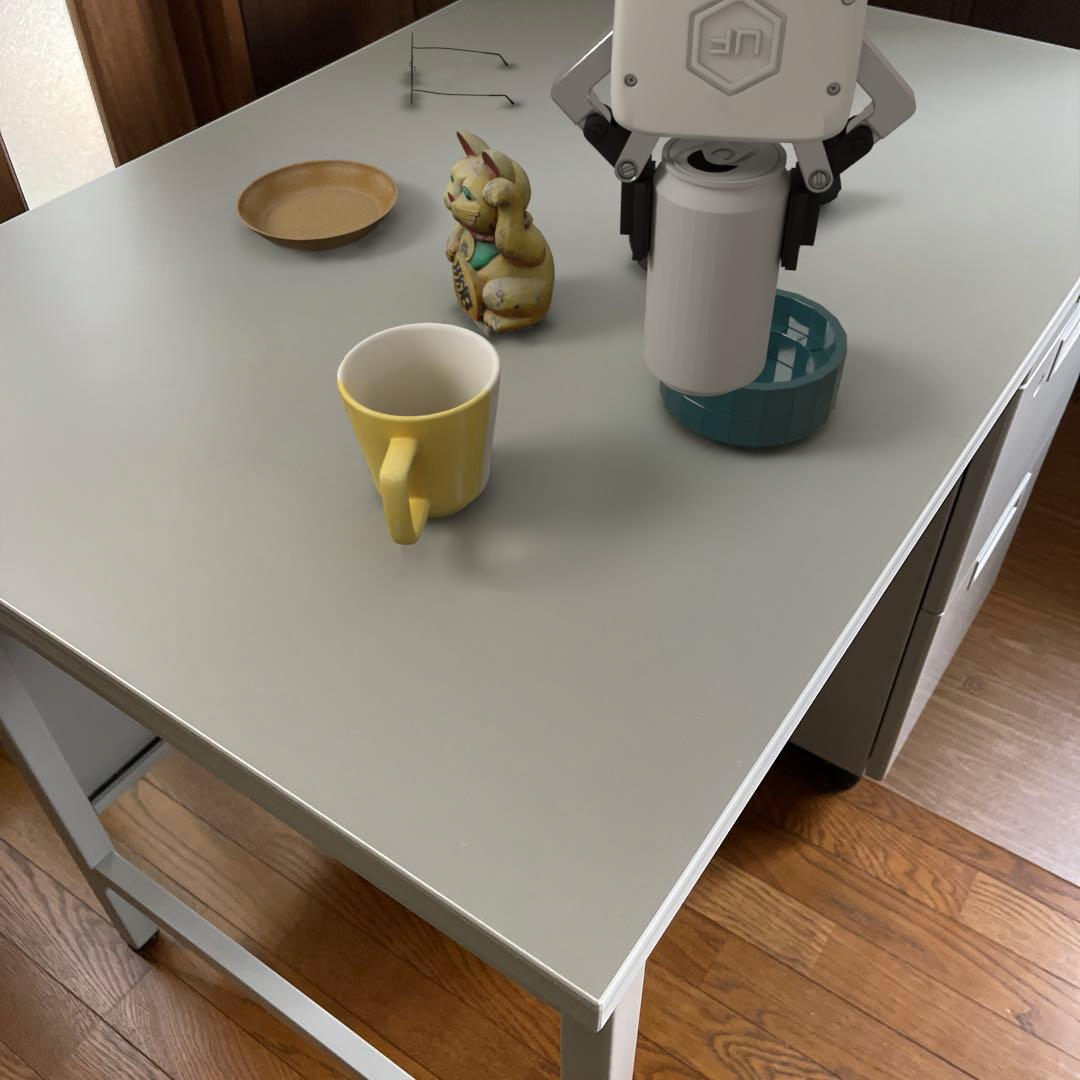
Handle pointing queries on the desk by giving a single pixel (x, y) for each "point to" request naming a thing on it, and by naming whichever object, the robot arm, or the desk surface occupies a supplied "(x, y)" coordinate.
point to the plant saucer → (317, 203)
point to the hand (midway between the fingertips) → (714, 248)
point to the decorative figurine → (496, 242)
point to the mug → (423, 418)
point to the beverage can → (713, 262)
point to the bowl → (776, 382)
